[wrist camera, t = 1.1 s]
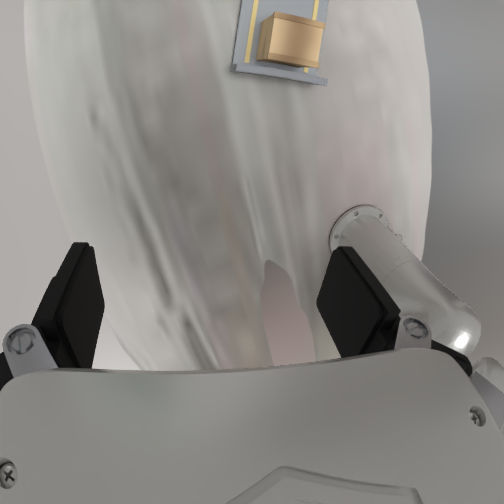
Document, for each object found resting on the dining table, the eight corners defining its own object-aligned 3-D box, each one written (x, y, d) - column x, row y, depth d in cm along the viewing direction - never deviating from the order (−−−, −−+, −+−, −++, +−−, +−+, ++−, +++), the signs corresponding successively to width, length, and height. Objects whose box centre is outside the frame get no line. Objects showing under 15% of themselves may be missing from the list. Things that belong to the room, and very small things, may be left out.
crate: (304, 29, 33) (325, 23, 27) (298, 68, 36) (318, 68, 30) (261, 20, 31) (275, 11, 25) (255, 61, 34) (267, 58, 29)
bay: (329, -29, 28) (344, -37, 24) (312, 84, 38) (326, 86, 34) (228, -50, 24) (233, -63, 20) (209, 69, 35) (211, 68, 31)
